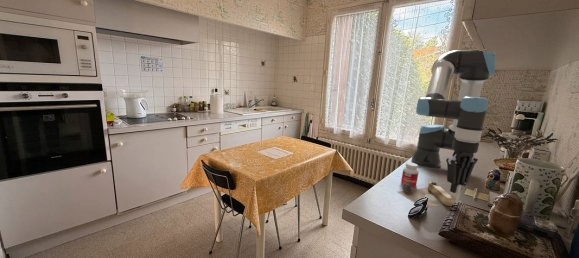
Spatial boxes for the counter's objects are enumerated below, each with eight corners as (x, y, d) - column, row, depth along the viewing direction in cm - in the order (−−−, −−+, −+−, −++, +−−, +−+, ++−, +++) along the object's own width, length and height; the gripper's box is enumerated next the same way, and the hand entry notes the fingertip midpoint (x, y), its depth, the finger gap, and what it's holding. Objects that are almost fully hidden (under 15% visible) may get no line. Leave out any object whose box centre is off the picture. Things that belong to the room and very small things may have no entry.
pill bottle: (400, 188, 104) (404, 164, 102) (400, 183, 110) (404, 160, 108) (416, 191, 102) (420, 167, 100) (415, 186, 107) (419, 163, 105)
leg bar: (426, 188, 101) (427, 180, 101) (434, 188, 101) (436, 181, 100) (444, 205, 88) (446, 196, 87) (454, 206, 87) (456, 197, 87)
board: (431, 189, 105) (433, 179, 104) (461, 205, 92) (464, 194, 91) (395, 194, 98) (396, 183, 97) (422, 211, 86) (424, 199, 85)
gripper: (468, 137, 90) (456, 193, 95) (443, 137, 86) (431, 196, 91) (490, 142, 83) (475, 203, 88) (463, 143, 79) (449, 207, 84)
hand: (453, 199), depth 89 cm, fingers closed
